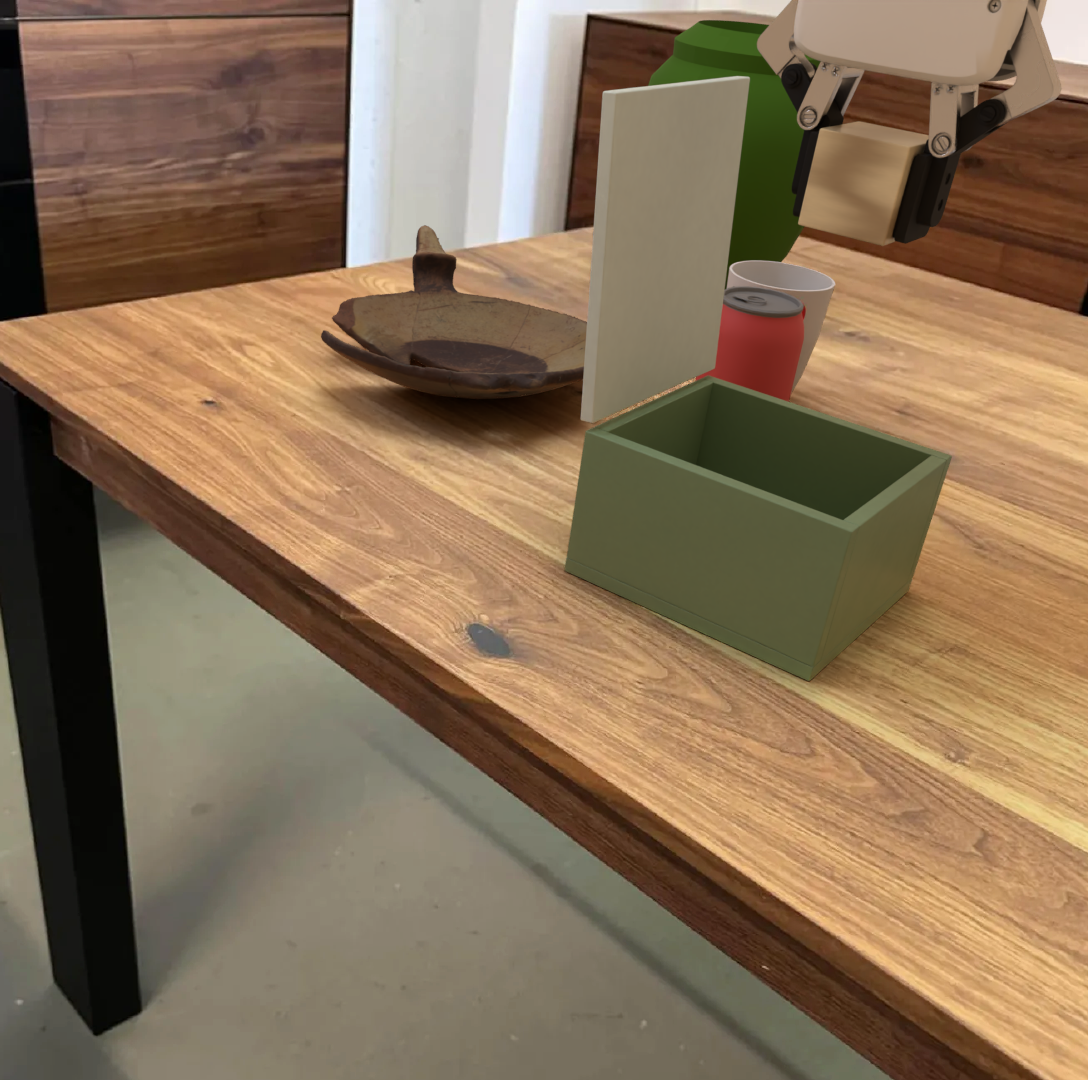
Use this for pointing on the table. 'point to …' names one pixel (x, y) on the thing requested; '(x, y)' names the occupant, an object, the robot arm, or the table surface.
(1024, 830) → the table surface
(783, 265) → the cup
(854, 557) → the open green box
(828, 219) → the block
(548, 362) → the oil lamp
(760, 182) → the vase
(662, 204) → the grey box lid
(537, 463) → the table surface
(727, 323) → the beer can
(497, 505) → the table surface
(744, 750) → the table surface
